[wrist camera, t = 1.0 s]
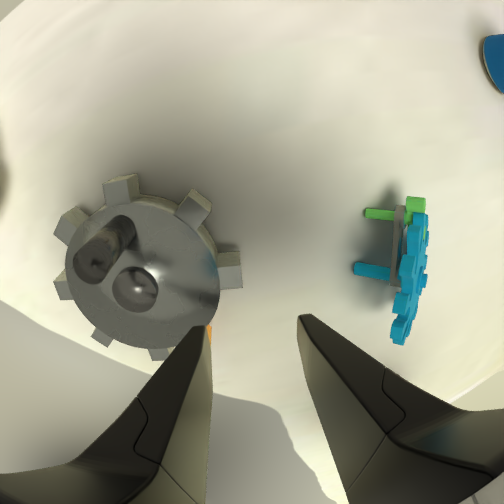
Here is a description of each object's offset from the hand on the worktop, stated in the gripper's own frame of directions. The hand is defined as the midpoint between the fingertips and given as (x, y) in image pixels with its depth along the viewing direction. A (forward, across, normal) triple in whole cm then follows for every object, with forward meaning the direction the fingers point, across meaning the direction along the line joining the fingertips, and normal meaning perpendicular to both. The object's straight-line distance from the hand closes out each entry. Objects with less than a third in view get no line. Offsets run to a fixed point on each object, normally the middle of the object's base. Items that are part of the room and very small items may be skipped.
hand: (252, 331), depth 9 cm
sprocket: (+12, +7, +3) cm, 14 cm away
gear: (+12, -12, +4) cm, 18 cm away
